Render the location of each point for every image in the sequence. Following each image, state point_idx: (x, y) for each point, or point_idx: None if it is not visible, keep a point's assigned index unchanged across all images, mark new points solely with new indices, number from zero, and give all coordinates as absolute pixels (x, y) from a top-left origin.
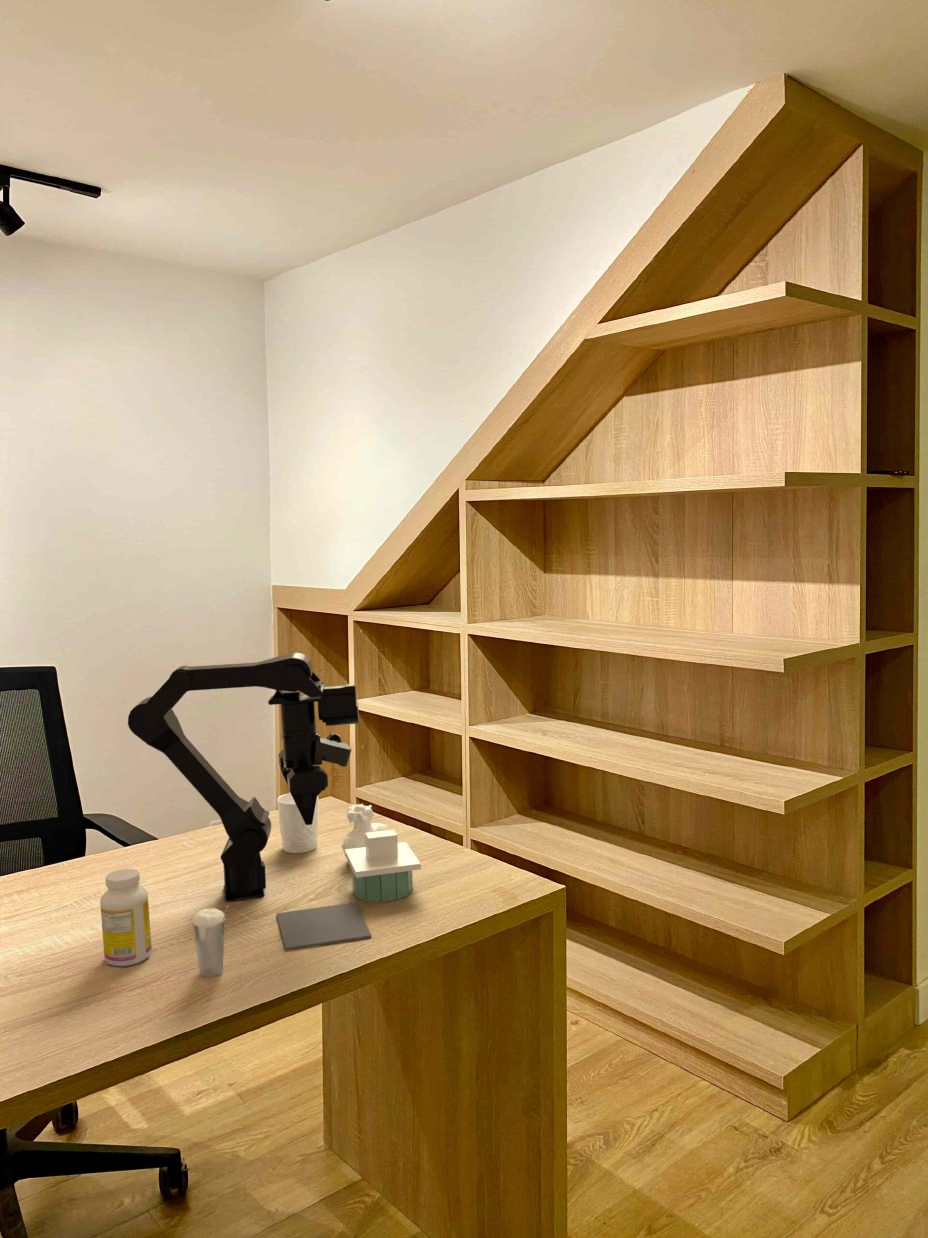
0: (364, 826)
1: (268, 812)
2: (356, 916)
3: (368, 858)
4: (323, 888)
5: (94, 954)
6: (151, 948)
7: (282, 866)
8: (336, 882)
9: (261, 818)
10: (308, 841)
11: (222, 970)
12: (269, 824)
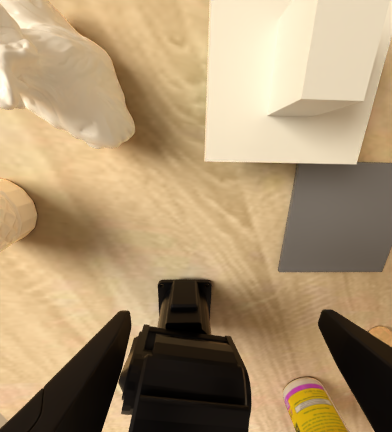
0: (44, 60)
1: (145, 403)
2: (351, 171)
3: (305, 115)
4: (210, 199)
5: (279, 408)
6: (309, 381)
7: (95, 246)
8: (193, 174)
9: (221, 428)
10: (13, 202)
11: (384, 327)
12: (173, 369)
